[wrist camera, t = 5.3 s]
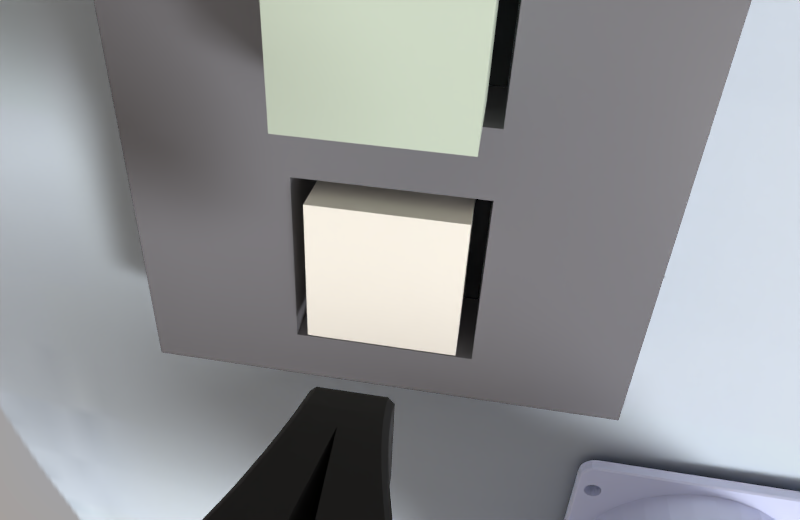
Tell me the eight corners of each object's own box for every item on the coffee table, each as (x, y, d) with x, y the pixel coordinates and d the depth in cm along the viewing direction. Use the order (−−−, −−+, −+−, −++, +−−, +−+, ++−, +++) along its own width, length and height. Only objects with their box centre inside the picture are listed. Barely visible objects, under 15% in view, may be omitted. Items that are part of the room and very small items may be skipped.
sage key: (486, 98, 14) (477, 156, 11) (311, 80, 14) (268, 133, 12) (511, -105, 12) (506, -84, 9) (306, -119, 12) (252, -103, 10)
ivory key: (464, 288, 18) (455, 355, 16) (335, 271, 19) (308, 334, 17) (479, 167, 17) (471, 224, 14) (334, 151, 17) (303, 204, 15)
